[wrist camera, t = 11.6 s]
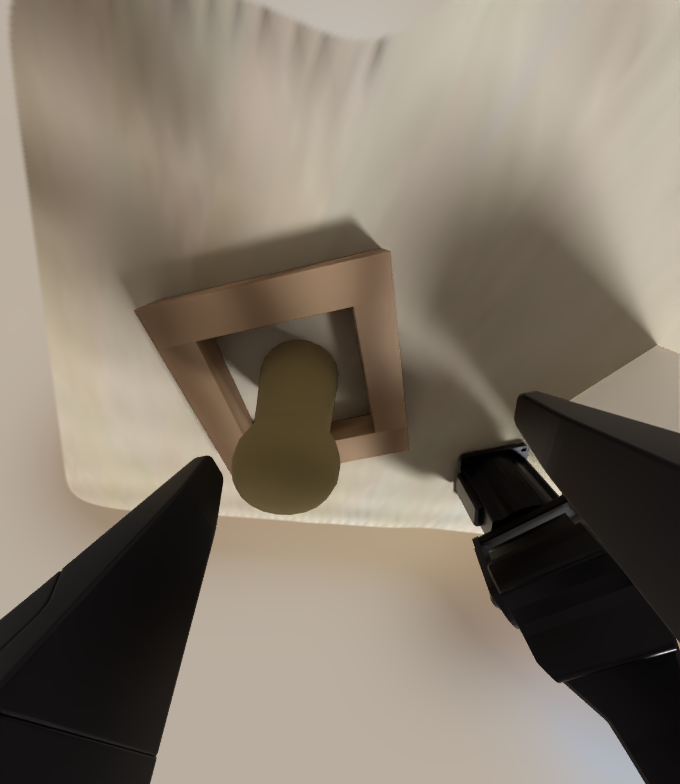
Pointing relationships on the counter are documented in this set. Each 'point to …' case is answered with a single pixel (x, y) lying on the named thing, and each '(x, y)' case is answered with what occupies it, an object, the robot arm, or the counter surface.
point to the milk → (641, 390)
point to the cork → (290, 433)
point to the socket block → (275, 305)
